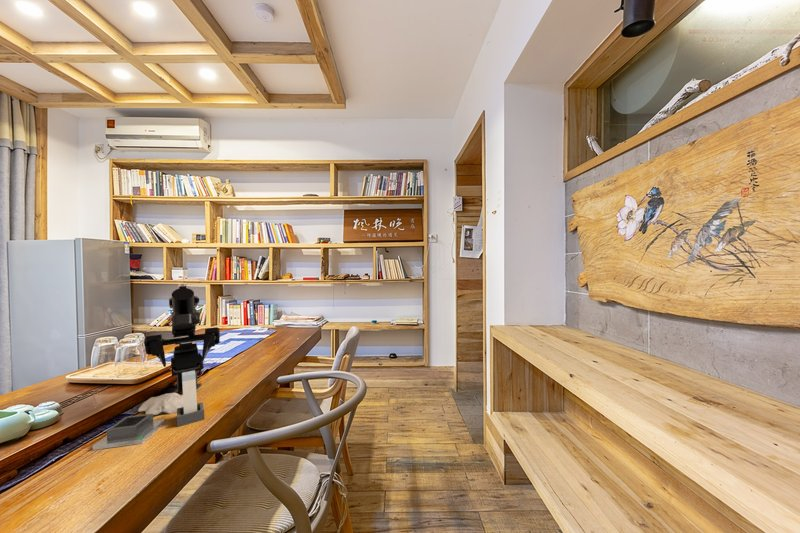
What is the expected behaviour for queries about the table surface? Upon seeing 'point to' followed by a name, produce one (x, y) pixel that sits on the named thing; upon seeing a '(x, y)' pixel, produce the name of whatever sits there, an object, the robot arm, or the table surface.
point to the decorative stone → (162, 404)
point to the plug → (189, 392)
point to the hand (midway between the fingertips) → (184, 362)
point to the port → (129, 431)
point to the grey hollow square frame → (190, 415)
